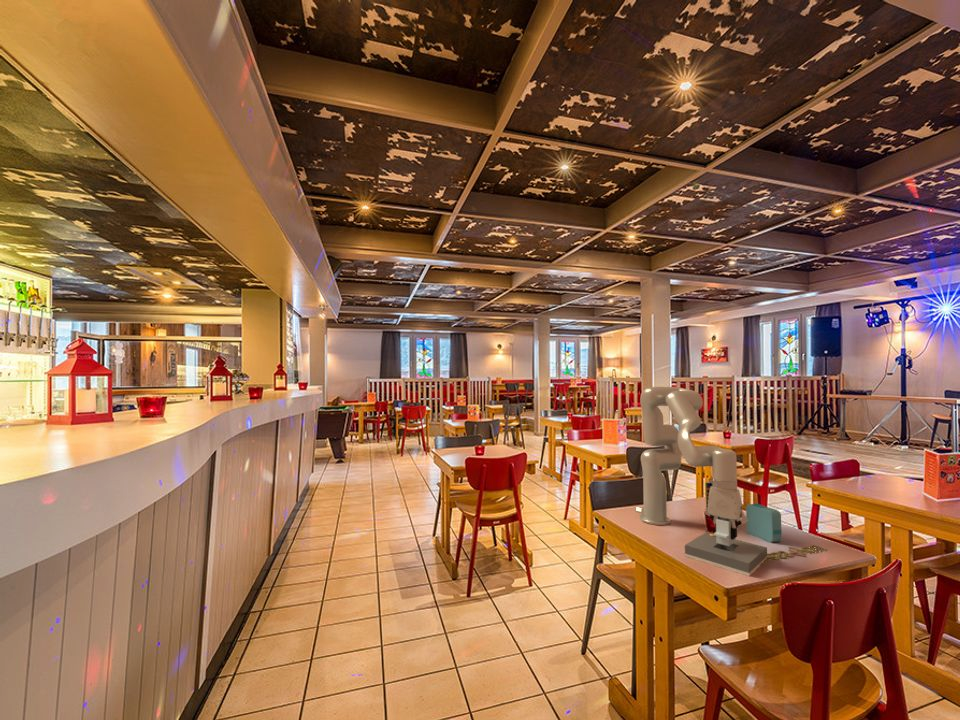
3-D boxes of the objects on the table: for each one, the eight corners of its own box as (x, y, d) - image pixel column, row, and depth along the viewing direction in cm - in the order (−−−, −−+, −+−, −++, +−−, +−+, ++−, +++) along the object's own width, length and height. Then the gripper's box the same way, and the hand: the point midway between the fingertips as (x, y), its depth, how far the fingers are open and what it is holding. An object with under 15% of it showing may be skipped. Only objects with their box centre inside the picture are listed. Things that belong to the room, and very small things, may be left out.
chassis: (685, 556, 151) (684, 544, 151) (706, 542, 164) (706, 531, 165) (749, 576, 136) (748, 562, 136) (767, 558, 149) (767, 546, 150)
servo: (713, 544, 148) (713, 519, 148) (725, 536, 156) (725, 512, 156) (726, 548, 145) (726, 521, 145) (738, 539, 153) (737, 514, 153)
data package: (782, 542, 165) (781, 511, 165) (772, 543, 164) (772, 512, 164) (755, 531, 176) (754, 502, 177) (746, 532, 175) (745, 503, 176)
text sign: (732, 559, 150) (753, 569, 142) (732, 557, 150) (753, 566, 142) (809, 545, 163) (832, 553, 155) (809, 543, 163) (832, 551, 156)
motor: (700, 517, 194) (699, 473, 195) (717, 516, 196) (716, 472, 197) (717, 524, 184) (716, 478, 185) (734, 523, 186) (733, 477, 187)
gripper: (696, 481, 155) (697, 532, 154) (748, 490, 143) (749, 546, 142) (704, 478, 160) (705, 528, 159) (755, 487, 148) (756, 540, 147)
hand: (726, 536), depth 150 cm, fingers closed on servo, 4 cm apart
